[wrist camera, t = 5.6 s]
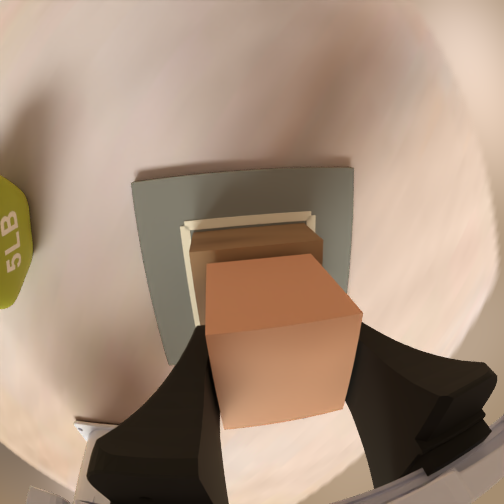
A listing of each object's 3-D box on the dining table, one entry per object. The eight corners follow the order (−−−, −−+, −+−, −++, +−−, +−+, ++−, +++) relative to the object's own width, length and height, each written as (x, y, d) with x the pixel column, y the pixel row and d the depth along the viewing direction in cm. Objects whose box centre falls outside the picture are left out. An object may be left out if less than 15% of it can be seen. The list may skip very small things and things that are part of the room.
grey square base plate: (337, 338, 20) (340, 344, 19) (169, 359, 19) (168, 365, 18) (349, 167, 16) (354, 168, 15) (134, 181, 14) (130, 183, 14)
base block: (301, 315, 18) (316, 344, 15) (206, 326, 17) (206, 358, 14) (303, 222, 16) (323, 239, 13) (193, 232, 15) (189, 252, 12)
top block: (307, 336, 14) (342, 409, 9) (218, 348, 14) (224, 429, 9) (310, 253, 13) (363, 312, 8) (206, 263, 12) (205, 334, 7)
